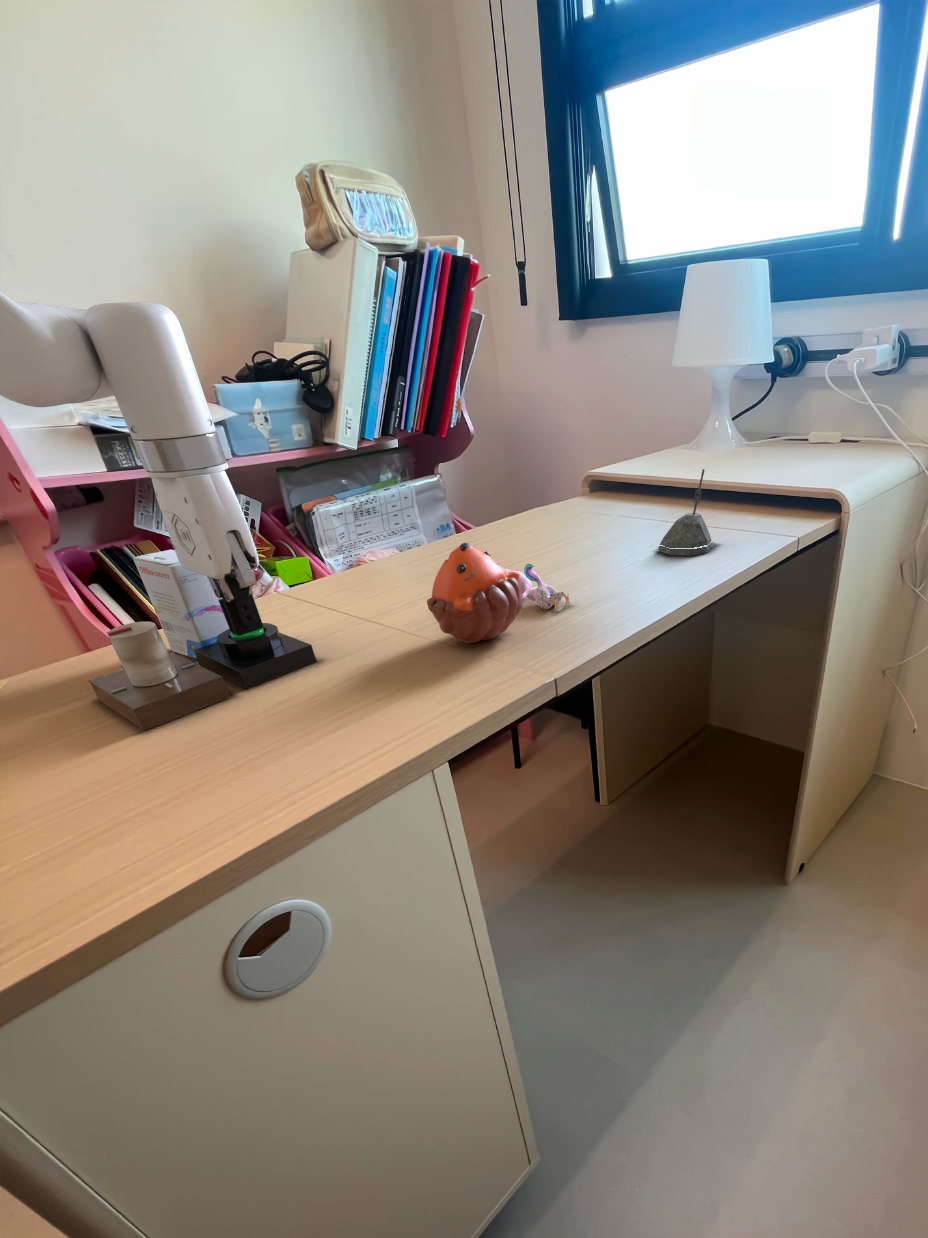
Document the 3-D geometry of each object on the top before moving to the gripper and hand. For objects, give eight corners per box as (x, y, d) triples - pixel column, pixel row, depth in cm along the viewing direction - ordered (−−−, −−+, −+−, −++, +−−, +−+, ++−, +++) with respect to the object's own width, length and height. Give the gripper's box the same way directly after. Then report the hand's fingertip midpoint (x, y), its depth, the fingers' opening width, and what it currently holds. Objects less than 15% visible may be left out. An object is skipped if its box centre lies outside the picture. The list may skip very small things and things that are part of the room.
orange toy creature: (477, 616, 89) (464, 529, 82) (541, 627, 85) (533, 535, 78) (419, 648, 81) (399, 553, 74) (487, 661, 76) (472, 562, 70)
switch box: (200, 666, 78) (187, 635, 76) (269, 642, 84) (259, 612, 82) (245, 689, 73) (232, 656, 70) (317, 661, 78) (307, 629, 76)
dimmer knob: (166, 666, 73) (143, 615, 69) (184, 675, 70) (161, 623, 67) (124, 680, 70) (98, 628, 66) (142, 690, 68) (116, 637, 64)
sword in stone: (687, 559, 107) (691, 480, 100) (651, 551, 112) (652, 475, 105) (724, 546, 113) (729, 470, 106) (688, 539, 117) (691, 466, 110)
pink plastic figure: (575, 611, 93) (498, 579, 99) (579, 571, 89) (498, 539, 95) (548, 625, 89) (468, 590, 95) (550, 583, 85) (467, 550, 91)
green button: (229, 646, 77) (223, 632, 76) (258, 636, 79) (253, 622, 78) (244, 653, 75) (239, 638, 74) (273, 642, 77) (268, 628, 76)
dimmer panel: (99, 700, 72) (87, 678, 70) (181, 671, 77) (172, 650, 76) (144, 731, 66) (132, 707, 64) (230, 697, 71) (221, 675, 70)
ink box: (245, 649, 82) (209, 553, 76) (208, 664, 79) (167, 565, 72) (207, 638, 86) (169, 546, 80) (170, 651, 83) (128, 556, 76)
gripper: (113, 457, 67) (186, 628, 78) (177, 466, 59) (249, 655, 70) (187, 447, 72) (246, 609, 82) (255, 454, 64) (311, 633, 74)
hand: (247, 630), depth 76 cm, fingers closed
